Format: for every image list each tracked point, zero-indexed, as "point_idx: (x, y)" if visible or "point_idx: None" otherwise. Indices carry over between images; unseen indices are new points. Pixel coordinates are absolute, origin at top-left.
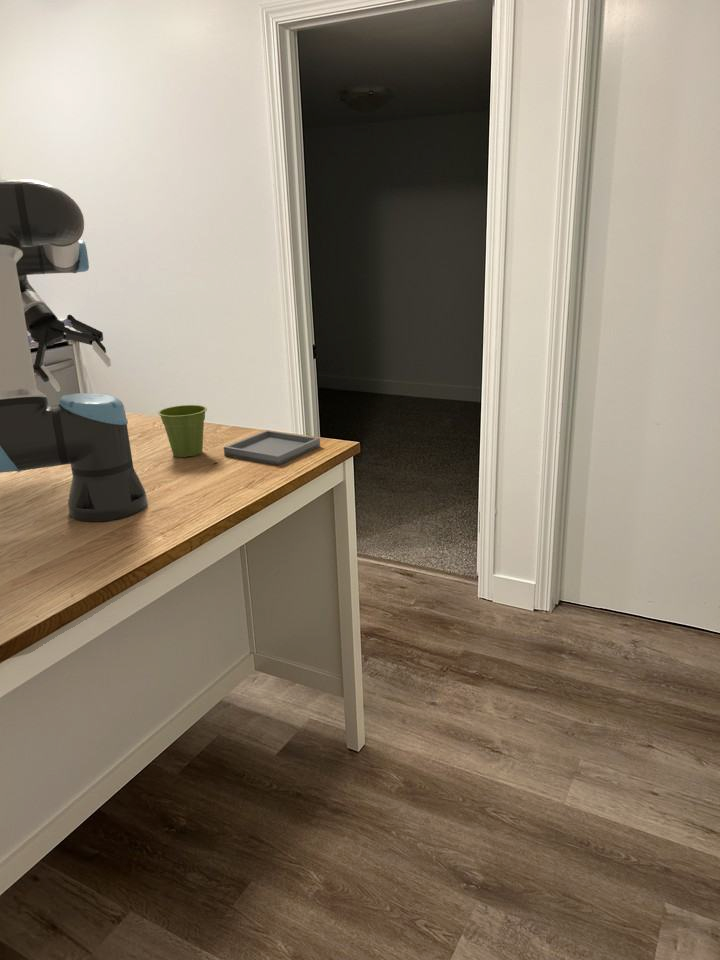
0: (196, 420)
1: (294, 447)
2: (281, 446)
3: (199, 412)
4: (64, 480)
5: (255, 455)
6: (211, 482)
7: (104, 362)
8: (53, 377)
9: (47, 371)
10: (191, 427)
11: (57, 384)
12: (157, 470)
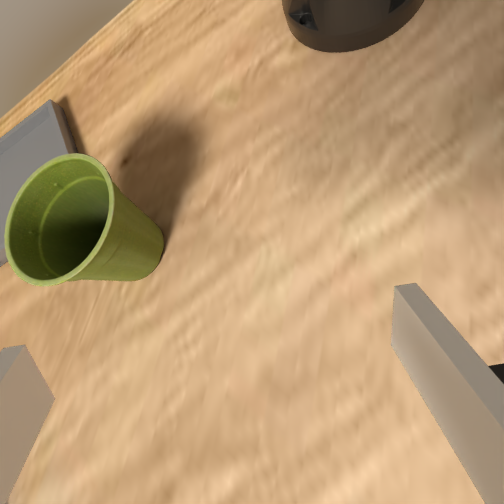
0: (66, 176)
1: (4, 169)
2: (12, 185)
3: (41, 167)
4: (427, 186)
5: (66, 137)
6: (171, 67)
7: (37, 431)
8: (428, 330)
9: (481, 386)
10: (89, 182)
11: (405, 286)
12: (222, 166)
